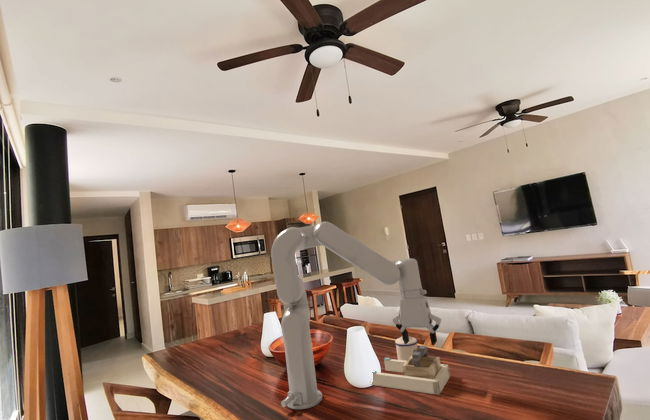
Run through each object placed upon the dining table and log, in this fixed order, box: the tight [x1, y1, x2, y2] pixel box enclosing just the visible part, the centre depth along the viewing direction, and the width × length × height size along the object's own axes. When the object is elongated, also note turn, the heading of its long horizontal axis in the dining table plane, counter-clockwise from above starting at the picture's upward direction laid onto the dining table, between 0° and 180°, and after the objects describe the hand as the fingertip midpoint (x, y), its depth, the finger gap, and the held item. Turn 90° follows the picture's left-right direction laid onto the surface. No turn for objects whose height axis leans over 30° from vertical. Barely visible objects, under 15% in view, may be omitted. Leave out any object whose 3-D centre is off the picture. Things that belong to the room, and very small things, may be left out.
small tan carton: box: [402, 344, 442, 379], centre depth 114 cm, size 10×10×11 cm
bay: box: [370, 357, 451, 396], centre depth 117 cm, size 16×24×5 cm, turn 56°
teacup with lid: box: [394, 335, 419, 361], centre depth 137 cm, size 12×9×12 cm
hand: (420, 343), depth 115 cm, fingers open, 9 cm apart
